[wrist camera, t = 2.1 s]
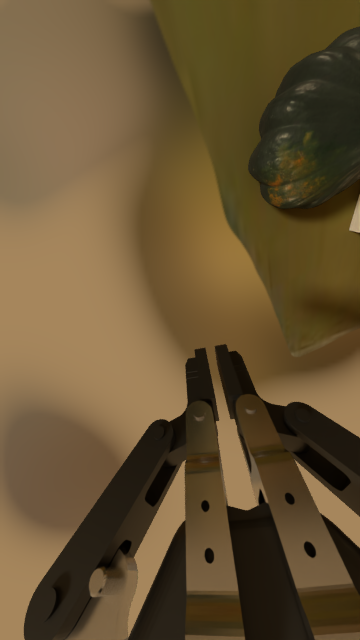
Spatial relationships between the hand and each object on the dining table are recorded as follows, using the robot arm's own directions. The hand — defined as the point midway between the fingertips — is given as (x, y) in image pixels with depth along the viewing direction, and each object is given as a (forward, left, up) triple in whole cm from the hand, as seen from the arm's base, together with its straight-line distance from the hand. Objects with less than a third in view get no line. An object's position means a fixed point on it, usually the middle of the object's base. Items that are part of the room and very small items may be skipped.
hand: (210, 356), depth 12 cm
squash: (-11, +18, -28) cm, 35 cm away
